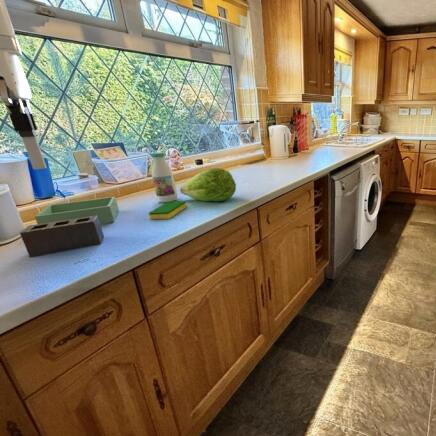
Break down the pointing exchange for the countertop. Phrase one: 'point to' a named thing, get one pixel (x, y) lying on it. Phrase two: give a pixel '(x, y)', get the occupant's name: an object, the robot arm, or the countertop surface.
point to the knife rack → (62, 235)
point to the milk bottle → (163, 179)
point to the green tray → (80, 210)
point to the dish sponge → (167, 210)
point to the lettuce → (210, 185)
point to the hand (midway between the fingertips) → (26, 130)
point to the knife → (32, 146)
